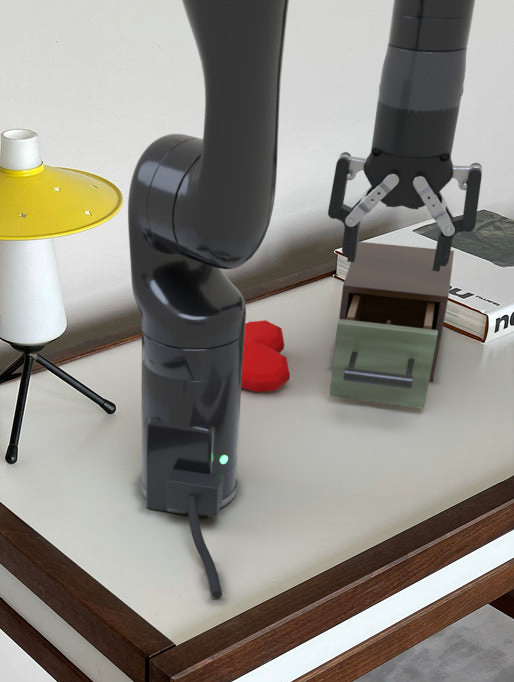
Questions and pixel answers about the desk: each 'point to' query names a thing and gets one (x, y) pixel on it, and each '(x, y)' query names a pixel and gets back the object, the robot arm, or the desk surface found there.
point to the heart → (263, 357)
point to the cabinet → (399, 280)
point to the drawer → (384, 351)
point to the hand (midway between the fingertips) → (393, 264)
